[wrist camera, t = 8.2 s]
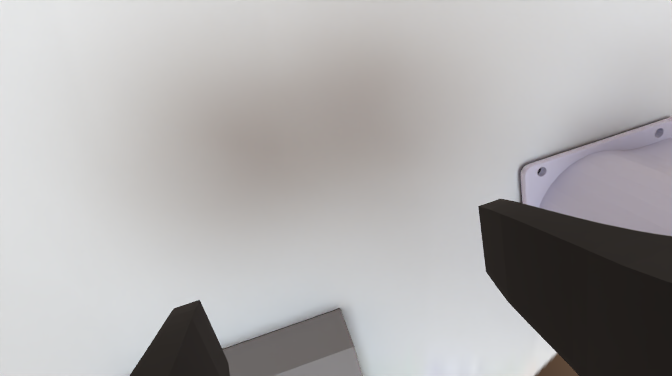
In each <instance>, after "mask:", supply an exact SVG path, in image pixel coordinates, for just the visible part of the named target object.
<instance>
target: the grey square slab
mask: <svg viewBox="0 0 672 376" xmlns="http://www.w3.org/2000/svg"><path fill="white" fill-rule="evenodd" d="M223 352H224V354H225V356H226V359H227V361H228V363H229V372H230V376H363V375H362V372H361V368H360V365H359V361H358V358H357V354H356V351H355V348H354V345H353V342H352V339H351V337H350V334H349V331H348V329H347V326H346V324H345V321H344V318H343V316H342V313H341V310H340V309H337V310H334V311H331V312H329V313H326V314H323V315H320V316H317V317H314V318H311V319H309V320H306V321H303V322H300V323H297V324H294V325H291V326H289V327H286V328H283V329H280V330H277V331H274V332H271V333H269V334H266V335H263V336H260V337H257V338H254V339H251V340H249V341H246V342H243V343H240V344H237V345H234V346H231V347H229V348H226V349H223Z"/></svg>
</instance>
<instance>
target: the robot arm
mask: <svg viewBox="0 0 672 376" xmlns="http://www.w3.org/2000/svg"><path fill="white" fill-rule="evenodd" d="M656 131H657V132H656ZM655 132H656V133H655ZM541 167H542V169H541V171H540V173H538V170H539V169H540V168H541ZM537 173H538V174H537ZM521 188H522V203H518V202H514V201H509V200H504V199H499V200H496V201H493V202H490V203H487V204H484V205H481V206H479V215H480V223H481V232H482V241H483V249H484V258H485V266H486V272H487V274H488V275H489V276H490V278H491V279H492V281H493V282H494V283H495V285H496V286H497V288H498V289H499V290H500V292H501V293H502V294H503V296H504V297H505V298H506V300H507V301H508V302H509V303H510V304H511V305H512V306H513V307H514V309H515V310H516V311H517V312H518V313H519V314H520V315H521V316H522V317H523V318H524V319H525V320H526V321H527V322H528V323H529V324H530V325H531V326H532V327H533V328H534V329H535V330H536V331H537V332H538V333H539V334H540V335H541V337H542V338H543V339H544V340H545V341H546V342H547V343H548V344H549V345H550V346H551V347H552V348H553V349H554V350H555V351H556V352H557V353H558V354H559V355H560V356H561V357H562V358H563V359H564V360H565V361H566V362H567V363H568V364H569V365H570V366H571V367H572V368H573V369H574V370H575V371H576V373H577V374H578V375H579V376H672V117H670V118H667V119H664V120H661V121H658V122H654V123H651V124H648V125H645V126H642V127H639V128H636V129H633V130H630V131H627V132H624V133H621V134H618V135H615V136H612V137H609V138H606V139H603V140H600V141H597V142H594V143H591V144H587V145H584V146H581V147H578V148H575V149H572V150H569V151H566V152H563V153H560V154H557V155H554V156H551V157H548V158H545V159H542V160H539V161H536V162H533V163H530V164H527V165H525V166H524V168H523V169H522V171H521ZM130 376H230V372H229V363H228V361H227V359H226V356H225V354H224V352H223V350H222V348H221V346H220V343H219V341H218V339H217V337H216V335H215V333H214V330H213V328H212V326H211V324H210V322H209V319H208V317H207V315H206V313H205V311H204V309H203V306H202V304H201V302H200V300H198V301H195V302H192V303H189V304H186V305H183V306H180V307H177V308H174V309H173V311H172V312H171V313H170V315H169V316H168V318H167V319H166V321H165V322H164V324H163V326H162V327H161V329H160V330H159V332H158V333H157V335H156V336H155V338H154V340H153V341H152V343H151V344H150V346H149V347H148V349H147V350H146V352H145V353H144V355H143V356H142V358H141V359H140V361H139V362H138V364H137V365H136V367H135V368H134V370H133V371H132V373H131V374H130Z"/></svg>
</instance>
